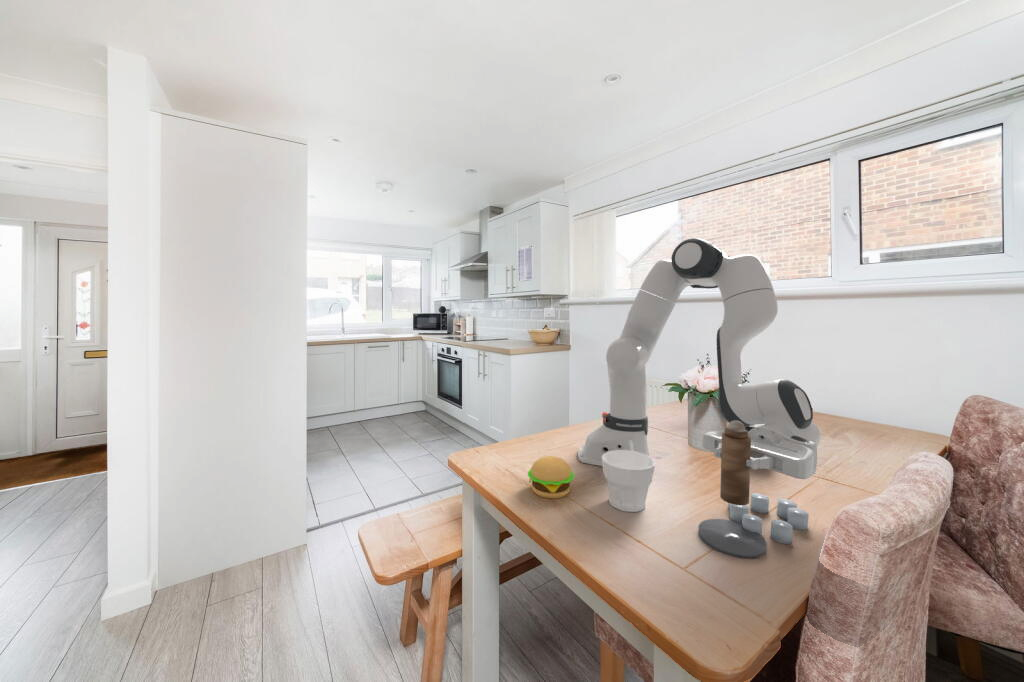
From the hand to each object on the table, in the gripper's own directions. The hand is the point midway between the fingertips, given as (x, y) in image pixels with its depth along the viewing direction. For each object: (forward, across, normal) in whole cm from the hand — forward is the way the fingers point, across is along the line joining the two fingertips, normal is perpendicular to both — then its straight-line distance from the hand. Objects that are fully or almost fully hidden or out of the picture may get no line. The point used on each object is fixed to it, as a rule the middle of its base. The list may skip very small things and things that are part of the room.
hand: (733, 458), depth 75 cm
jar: (-47, -20, +17) cm, 54 cm away
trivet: (-1, 0, +17) cm, 17 cm away
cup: (+6, -22, +17) cm, 28 cm away
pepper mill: (-1, 0, +8) cm, 9 cm away
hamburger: (+18, -36, +17) cm, 44 cm away
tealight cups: (-14, 0, +17) cm, 22 cm away
